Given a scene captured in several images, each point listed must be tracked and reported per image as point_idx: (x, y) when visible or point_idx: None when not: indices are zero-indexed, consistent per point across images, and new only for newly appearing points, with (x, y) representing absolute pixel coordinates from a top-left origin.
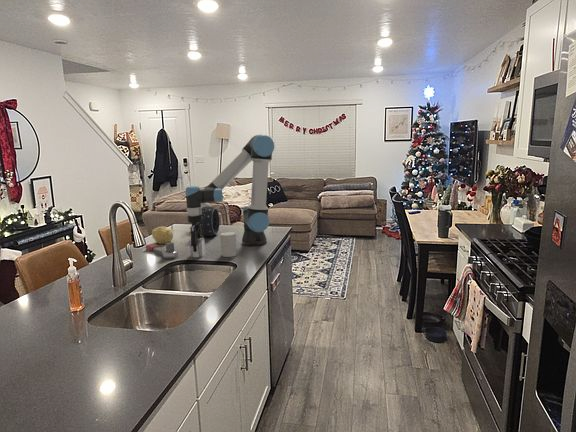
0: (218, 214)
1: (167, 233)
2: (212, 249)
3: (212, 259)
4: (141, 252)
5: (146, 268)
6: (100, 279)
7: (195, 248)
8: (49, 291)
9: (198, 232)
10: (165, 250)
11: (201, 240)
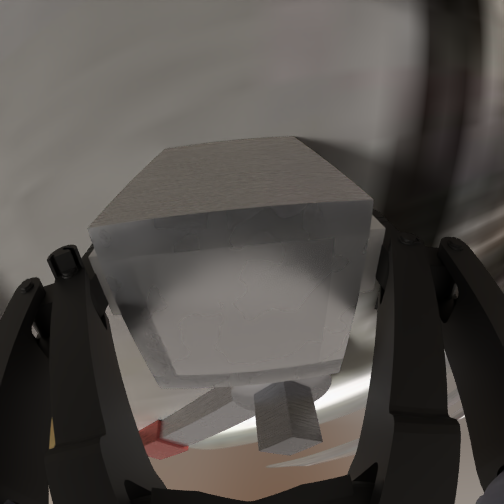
0: None
1: (50, 445)
2: (42, 135)
3: (385, 30)
4: (195, 445)
5: None
6: (451, 397)
7: (391, 230)
8: (461, 412)
9: (113, 423)
10: (227, 414)
11: (338, 207)
